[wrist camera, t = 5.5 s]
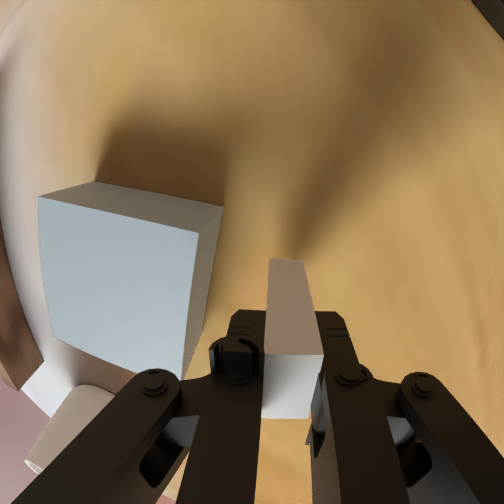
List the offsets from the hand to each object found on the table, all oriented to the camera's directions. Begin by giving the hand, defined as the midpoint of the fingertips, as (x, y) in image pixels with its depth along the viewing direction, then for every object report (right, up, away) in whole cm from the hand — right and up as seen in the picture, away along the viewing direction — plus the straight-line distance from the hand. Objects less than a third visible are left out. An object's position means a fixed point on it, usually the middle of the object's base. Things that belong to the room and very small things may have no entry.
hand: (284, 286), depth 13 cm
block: (-8, +1, +3) cm, 8 cm away
